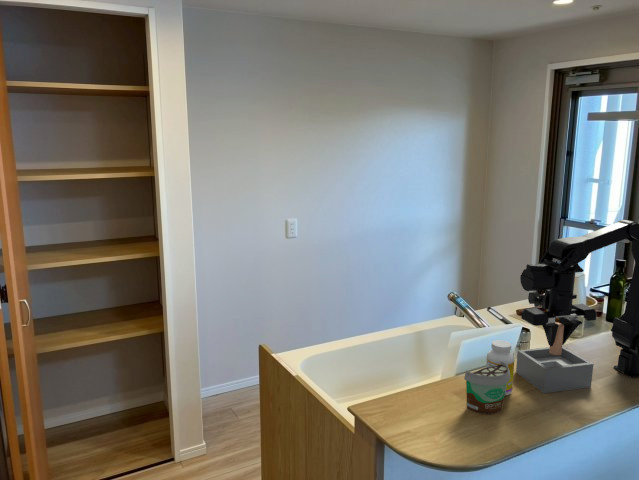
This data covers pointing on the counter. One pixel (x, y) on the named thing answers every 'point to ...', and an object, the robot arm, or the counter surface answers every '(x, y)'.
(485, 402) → the food container
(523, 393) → the counter surface
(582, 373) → the bore box
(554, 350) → the peg
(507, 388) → the supplement bottle
